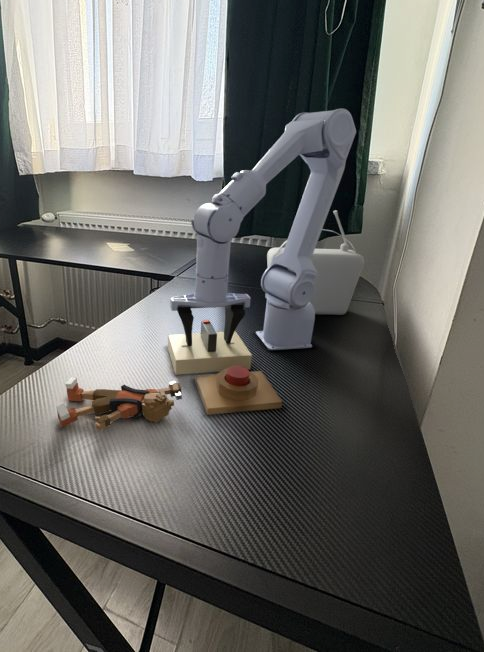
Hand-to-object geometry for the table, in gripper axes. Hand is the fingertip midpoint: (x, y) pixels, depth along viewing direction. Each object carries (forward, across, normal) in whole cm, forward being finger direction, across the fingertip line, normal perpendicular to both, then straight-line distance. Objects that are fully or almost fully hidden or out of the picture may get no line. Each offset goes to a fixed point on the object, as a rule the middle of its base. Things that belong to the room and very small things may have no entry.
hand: (208, 342), depth 71 cm
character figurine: (+4, +17, +14) cm, 22 cm away
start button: (+1, -2, +12) cm, 12 cm away
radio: (+4, -31, -21) cm, 38 cm away
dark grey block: (0, 0, 0) cm, 0 cm away
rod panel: (+3, 0, 0) cm, 3 cm away
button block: (+3, -2, +12) cm, 13 cm away
